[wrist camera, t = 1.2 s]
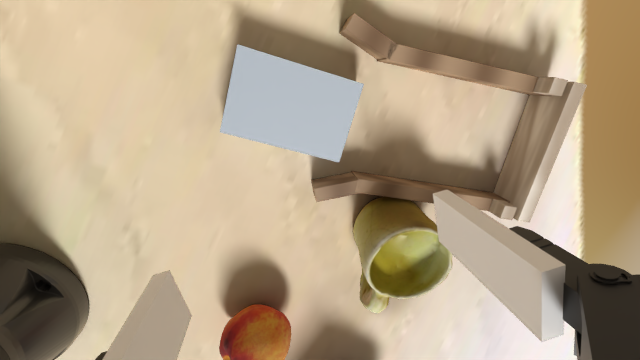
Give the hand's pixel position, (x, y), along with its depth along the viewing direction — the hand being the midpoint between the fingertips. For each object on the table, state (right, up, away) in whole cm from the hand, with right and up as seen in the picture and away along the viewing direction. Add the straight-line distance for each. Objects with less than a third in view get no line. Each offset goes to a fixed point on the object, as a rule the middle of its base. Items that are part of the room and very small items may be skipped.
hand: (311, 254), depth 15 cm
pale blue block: (-3, +12, +18) cm, 21 cm away
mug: (+8, -4, +24) cm, 25 cm away
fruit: (-8, -14, +25) cm, 30 cm away
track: (+13, +9, +20) cm, 26 cm away
